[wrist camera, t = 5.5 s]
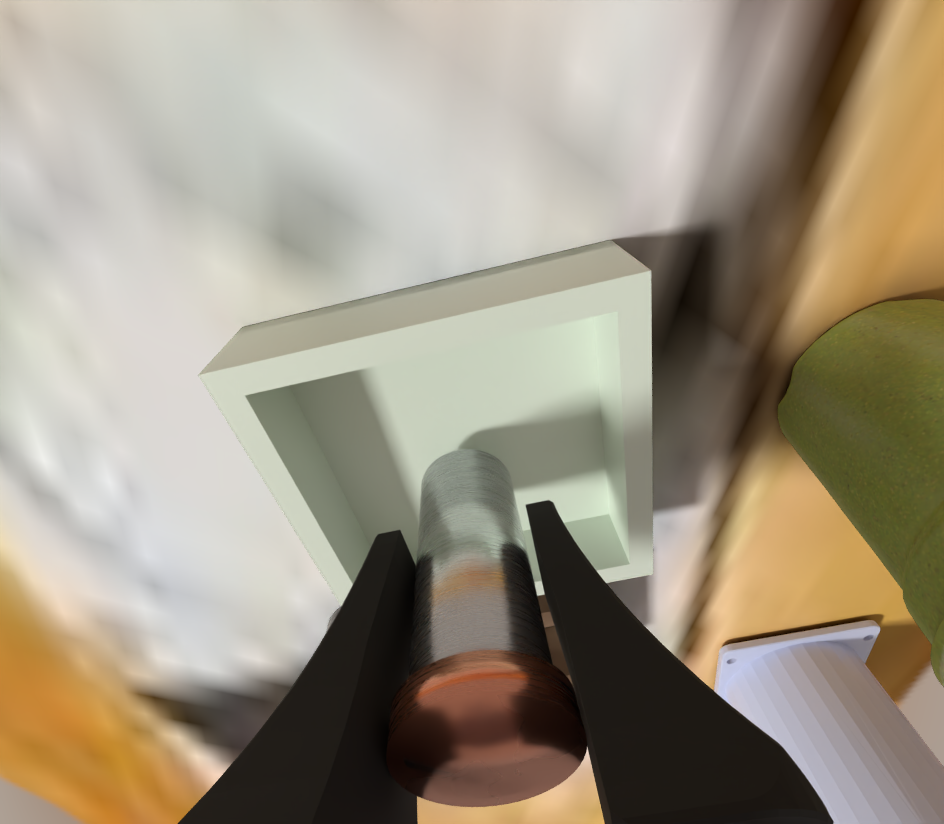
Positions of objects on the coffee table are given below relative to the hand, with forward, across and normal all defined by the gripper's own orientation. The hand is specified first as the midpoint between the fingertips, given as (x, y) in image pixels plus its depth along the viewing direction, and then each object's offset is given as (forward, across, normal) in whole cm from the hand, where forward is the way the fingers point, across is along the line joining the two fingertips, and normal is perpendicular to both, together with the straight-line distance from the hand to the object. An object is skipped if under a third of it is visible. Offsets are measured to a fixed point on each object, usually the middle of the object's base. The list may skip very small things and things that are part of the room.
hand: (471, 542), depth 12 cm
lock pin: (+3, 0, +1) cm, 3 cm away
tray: (+5, 0, 0) cm, 5 cm away
